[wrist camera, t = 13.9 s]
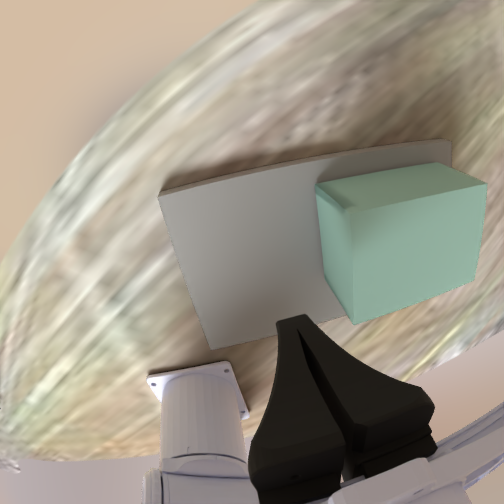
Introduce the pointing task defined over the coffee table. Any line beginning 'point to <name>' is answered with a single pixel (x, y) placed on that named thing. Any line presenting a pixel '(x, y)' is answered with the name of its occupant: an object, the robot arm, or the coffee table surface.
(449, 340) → the coffee table surface
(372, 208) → the block
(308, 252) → the base
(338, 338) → the coffee table surface
